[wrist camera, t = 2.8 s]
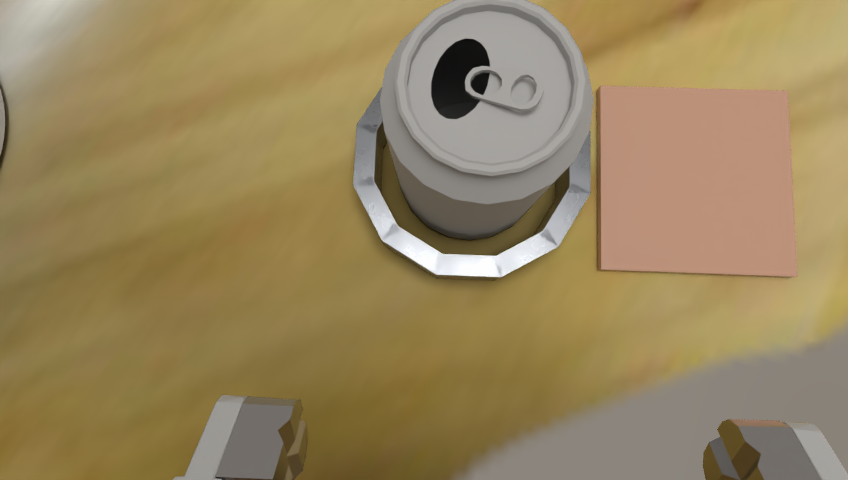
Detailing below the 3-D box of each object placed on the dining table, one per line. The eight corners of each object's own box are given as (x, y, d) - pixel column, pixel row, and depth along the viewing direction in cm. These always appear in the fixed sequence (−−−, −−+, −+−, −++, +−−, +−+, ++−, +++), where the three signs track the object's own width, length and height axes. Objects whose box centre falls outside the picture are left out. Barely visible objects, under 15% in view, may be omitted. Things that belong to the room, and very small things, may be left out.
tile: (597, 270, 28) (601, 269, 27) (597, 90, 29) (600, 85, 28) (789, 277, 27) (797, 276, 27) (780, 95, 29) (787, 90, 28)
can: (424, 92, 29) (416, -57, 17) (553, 131, 29) (637, 6, 17) (381, 217, 28) (342, 151, 16) (514, 260, 28) (572, 224, 16)
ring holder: (357, 275, 28) (348, 271, 25) (368, 71, 29) (361, 44, 26) (574, 283, 28) (590, 280, 25) (574, 76, 29) (590, 50, 26)
